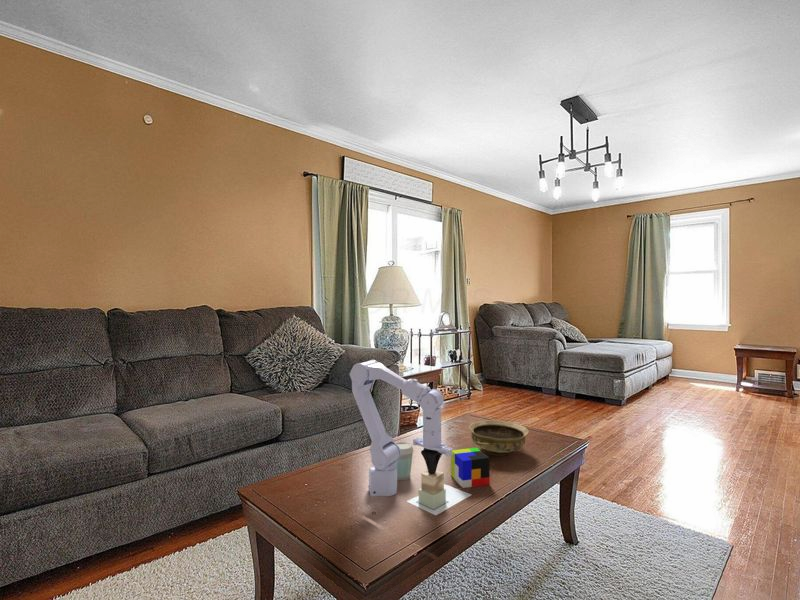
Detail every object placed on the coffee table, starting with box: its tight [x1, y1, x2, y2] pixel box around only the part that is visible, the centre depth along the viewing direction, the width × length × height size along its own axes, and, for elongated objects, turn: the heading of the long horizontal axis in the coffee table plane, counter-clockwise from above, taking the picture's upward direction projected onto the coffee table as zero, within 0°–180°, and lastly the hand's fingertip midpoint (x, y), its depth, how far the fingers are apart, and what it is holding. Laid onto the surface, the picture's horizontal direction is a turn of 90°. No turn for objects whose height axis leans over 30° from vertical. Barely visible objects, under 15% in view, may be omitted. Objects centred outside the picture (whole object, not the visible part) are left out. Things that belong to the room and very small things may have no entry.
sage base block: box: [418, 487, 446, 509], centre depth 134 cm, size 6×6×4 cm
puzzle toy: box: [450, 447, 491, 489], centre depth 150 cm, size 10×10×10 cm
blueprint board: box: [406, 483, 472, 516], centre depth 136 cm, size 18×12×1 cm, turn 135°
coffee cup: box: [395, 441, 415, 481], centre depth 152 cm, size 8×8×12 cm
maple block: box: [420, 469, 445, 494], centre depth 134 cm, size 5×5×5 cm
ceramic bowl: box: [468, 419, 529, 456], centre depth 178 cm, size 30×24×10 cm
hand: (432, 472), depth 134 cm, fingers closed
